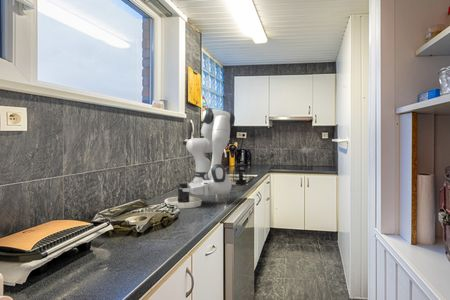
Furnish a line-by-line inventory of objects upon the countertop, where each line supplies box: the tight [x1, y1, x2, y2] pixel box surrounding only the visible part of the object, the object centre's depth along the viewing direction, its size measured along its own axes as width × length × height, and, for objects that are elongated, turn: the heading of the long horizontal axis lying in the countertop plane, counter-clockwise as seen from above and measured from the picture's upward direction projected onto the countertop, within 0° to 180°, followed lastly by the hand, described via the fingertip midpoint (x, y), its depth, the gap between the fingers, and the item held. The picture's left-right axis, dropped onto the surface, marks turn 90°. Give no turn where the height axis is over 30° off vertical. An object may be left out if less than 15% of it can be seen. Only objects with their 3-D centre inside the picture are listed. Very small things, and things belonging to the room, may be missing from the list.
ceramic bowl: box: [164, 195, 203, 210], centre depth 193 cm, size 21×21×3 cm
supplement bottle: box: [177, 182, 190, 203], centre depth 193 cm, size 7×7×12 cm
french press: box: [232, 156, 247, 186], centre depth 274 cm, size 12×9×23 cm
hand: (181, 188), depth 192 cm, fingers open, 8 cm apart
